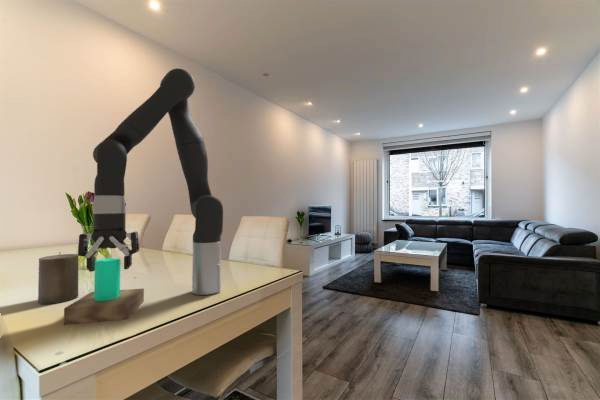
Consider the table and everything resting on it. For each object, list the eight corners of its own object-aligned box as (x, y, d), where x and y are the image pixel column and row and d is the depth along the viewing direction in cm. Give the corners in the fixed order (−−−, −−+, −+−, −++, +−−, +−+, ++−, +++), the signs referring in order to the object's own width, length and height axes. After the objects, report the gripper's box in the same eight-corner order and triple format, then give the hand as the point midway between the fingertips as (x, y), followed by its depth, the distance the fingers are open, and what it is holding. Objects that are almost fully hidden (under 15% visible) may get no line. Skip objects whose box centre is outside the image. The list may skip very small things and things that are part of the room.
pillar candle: (84, 296, 90) (85, 250, 91) (47, 306, 81) (48, 255, 82) (68, 293, 94) (69, 249, 95) (30, 302, 85) (32, 253, 86)
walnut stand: (143, 301, 85) (143, 288, 86) (127, 319, 72) (127, 303, 72) (91, 305, 82) (91, 291, 82) (63, 324, 68) (64, 308, 69)
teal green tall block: (107, 301, 74) (108, 256, 74) (88, 300, 75) (89, 255, 75) (125, 294, 79) (125, 252, 80) (107, 293, 80) (108, 252, 81)
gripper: (141, 211, 83) (141, 265, 83) (87, 212, 80) (86, 268, 79) (133, 211, 76) (133, 271, 75) (72, 212, 72) (72, 275, 72)
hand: (109, 269), depth 77 cm, fingers open, 8 cm apart
